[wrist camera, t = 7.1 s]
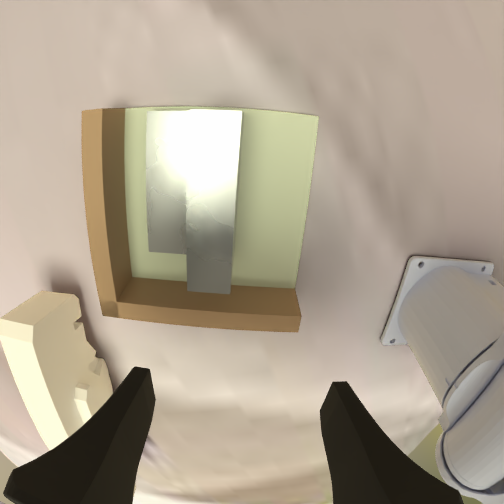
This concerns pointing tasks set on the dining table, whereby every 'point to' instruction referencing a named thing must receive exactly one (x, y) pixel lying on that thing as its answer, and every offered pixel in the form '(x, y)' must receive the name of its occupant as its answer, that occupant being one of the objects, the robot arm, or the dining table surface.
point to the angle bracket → (194, 191)
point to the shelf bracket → (54, 364)
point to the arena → (174, 265)
